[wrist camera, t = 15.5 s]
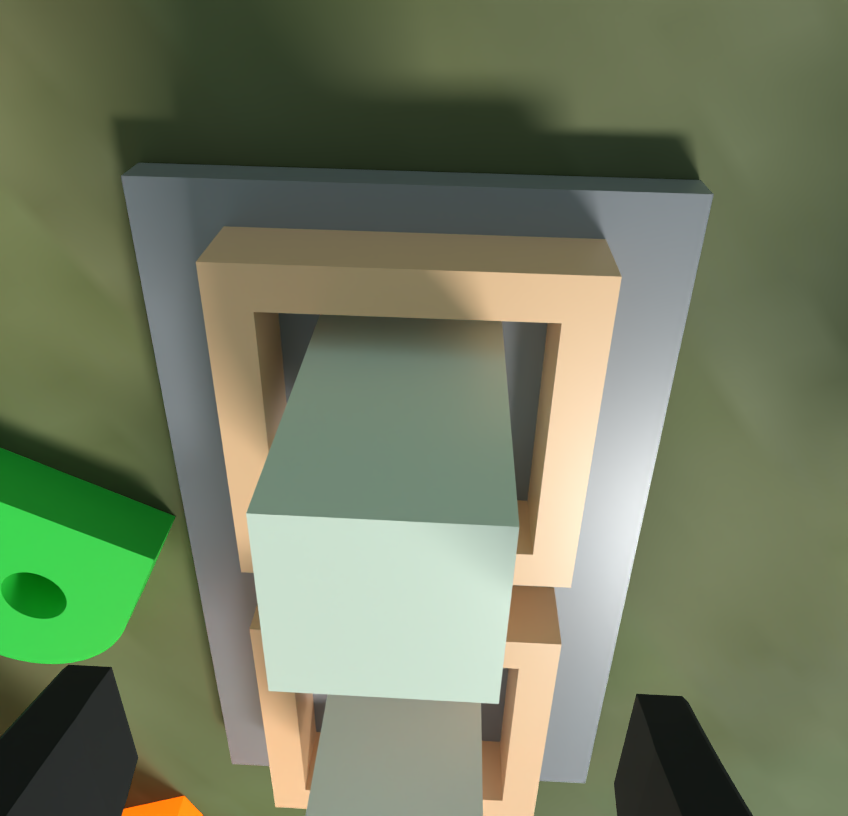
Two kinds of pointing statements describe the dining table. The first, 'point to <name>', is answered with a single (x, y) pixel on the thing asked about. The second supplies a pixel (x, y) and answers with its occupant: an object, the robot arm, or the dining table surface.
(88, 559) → the mechanical part
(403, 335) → the sage block
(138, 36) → the dining table surface
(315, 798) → the grey-green rectangular block
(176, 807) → the orange juice
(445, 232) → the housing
